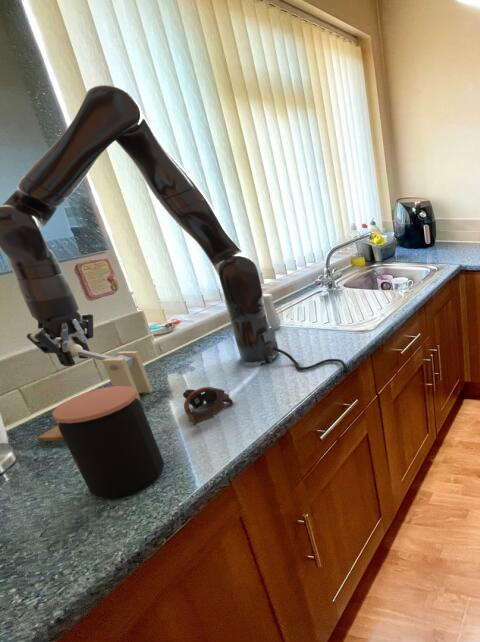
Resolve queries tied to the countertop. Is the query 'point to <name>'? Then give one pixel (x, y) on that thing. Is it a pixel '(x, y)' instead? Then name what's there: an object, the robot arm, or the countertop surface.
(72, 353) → the lever
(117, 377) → the bracket
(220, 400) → the brown hollow shell
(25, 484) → the countertop surface
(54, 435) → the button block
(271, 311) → the salt shaker
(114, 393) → the coffee jar
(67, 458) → the countertop surface
